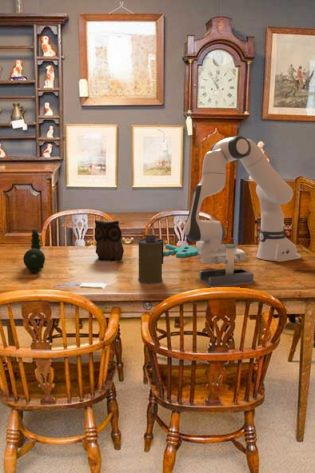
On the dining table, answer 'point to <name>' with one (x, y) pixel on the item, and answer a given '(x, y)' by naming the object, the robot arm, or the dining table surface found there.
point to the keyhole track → (226, 277)
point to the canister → (150, 259)
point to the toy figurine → (34, 255)
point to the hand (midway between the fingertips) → (231, 261)
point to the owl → (108, 241)
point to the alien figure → (181, 251)
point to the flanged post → (230, 258)
